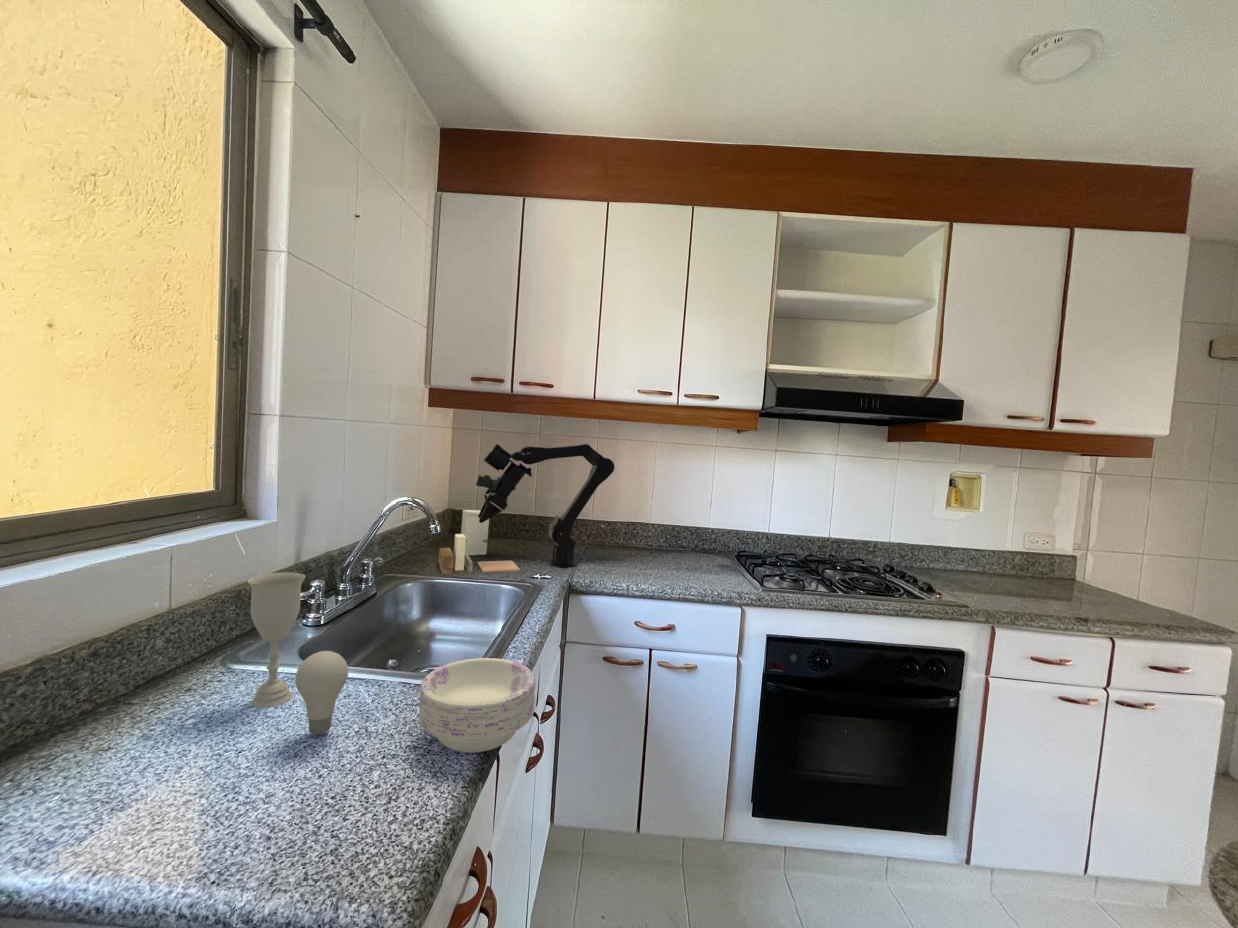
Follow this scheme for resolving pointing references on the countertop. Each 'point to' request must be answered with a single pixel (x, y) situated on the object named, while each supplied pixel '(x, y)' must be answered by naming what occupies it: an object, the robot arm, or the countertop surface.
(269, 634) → the chalice
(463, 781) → the countertop surface
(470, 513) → the skincare box
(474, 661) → the paper bowls
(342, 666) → the lightbulb
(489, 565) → the terracotta pad
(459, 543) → the cream rectangular block
